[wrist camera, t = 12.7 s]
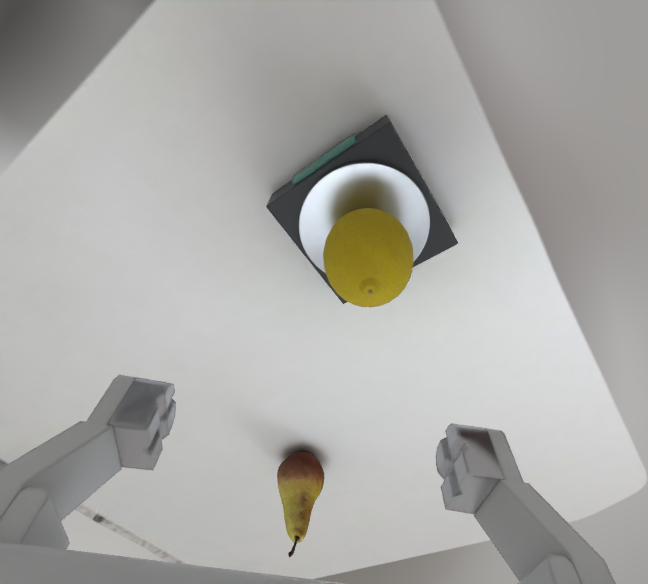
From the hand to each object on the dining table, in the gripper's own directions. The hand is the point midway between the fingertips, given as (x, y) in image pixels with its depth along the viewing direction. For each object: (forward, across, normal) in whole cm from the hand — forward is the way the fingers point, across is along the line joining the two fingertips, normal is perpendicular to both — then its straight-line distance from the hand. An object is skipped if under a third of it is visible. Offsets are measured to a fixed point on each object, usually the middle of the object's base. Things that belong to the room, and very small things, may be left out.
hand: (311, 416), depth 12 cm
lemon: (+18, -3, +2) cm, 19 cm away
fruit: (+21, -2, +34) cm, 40 cm away
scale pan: (+19, -3, +2) cm, 19 cm away
